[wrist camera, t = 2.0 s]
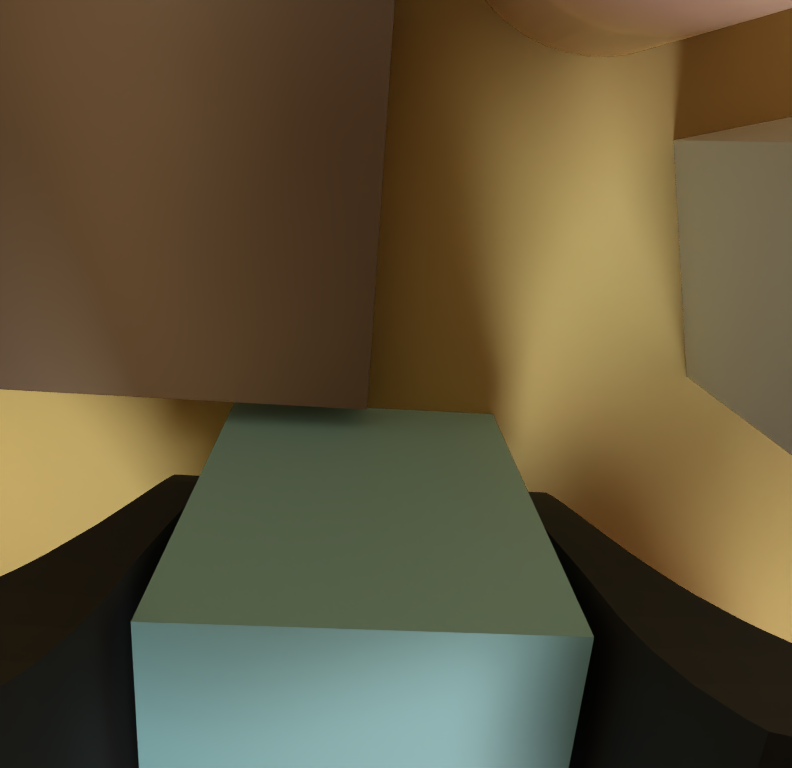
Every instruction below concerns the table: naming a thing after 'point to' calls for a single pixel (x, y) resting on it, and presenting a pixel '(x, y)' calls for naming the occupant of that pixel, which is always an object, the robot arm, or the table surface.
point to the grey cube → (739, 269)
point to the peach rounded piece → (625, 21)
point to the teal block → (358, 602)
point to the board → (192, 197)
